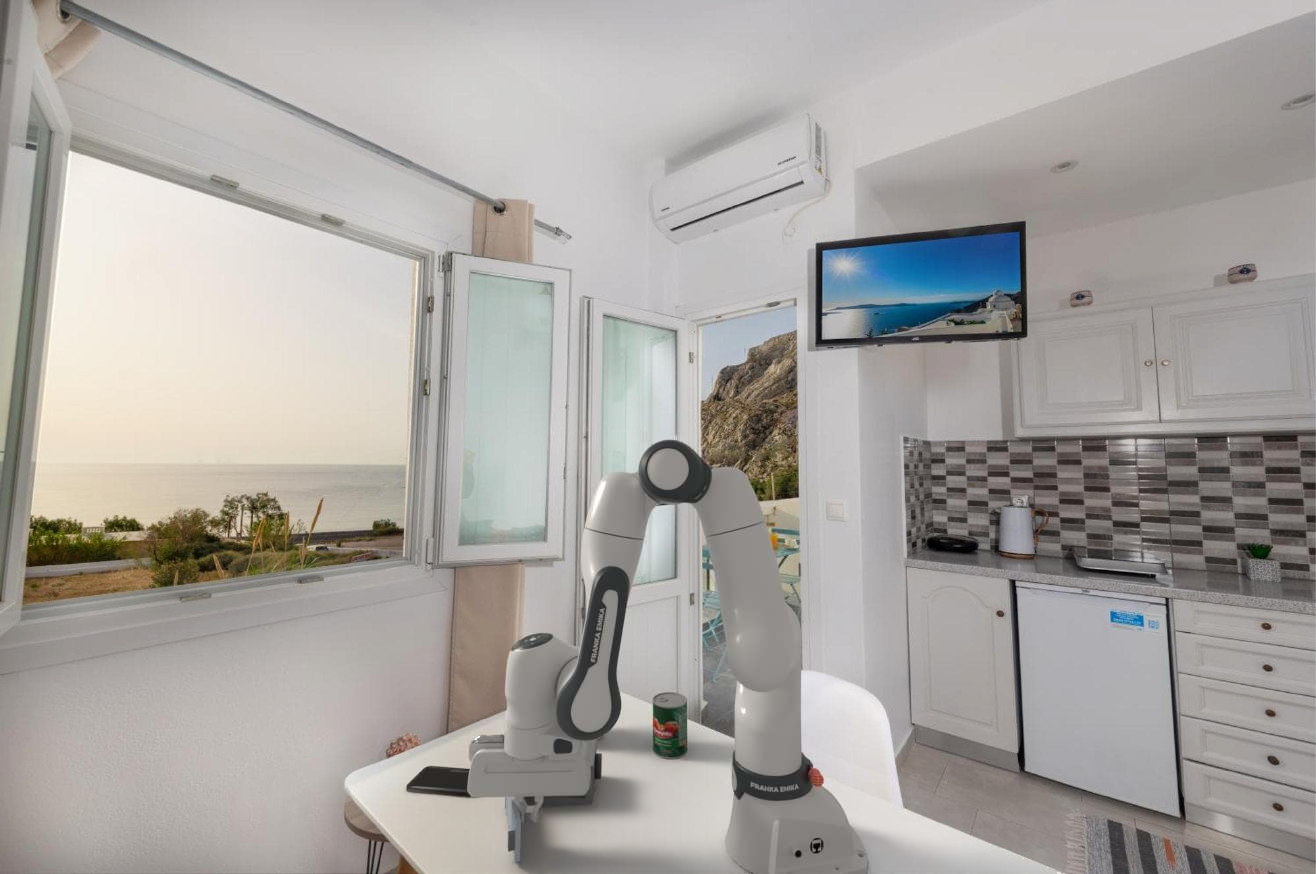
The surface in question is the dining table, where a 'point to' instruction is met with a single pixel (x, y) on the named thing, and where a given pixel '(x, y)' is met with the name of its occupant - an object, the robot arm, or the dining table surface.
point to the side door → (513, 827)
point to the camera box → (576, 800)
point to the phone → (440, 781)
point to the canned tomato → (670, 725)
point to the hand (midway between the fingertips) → (529, 820)
